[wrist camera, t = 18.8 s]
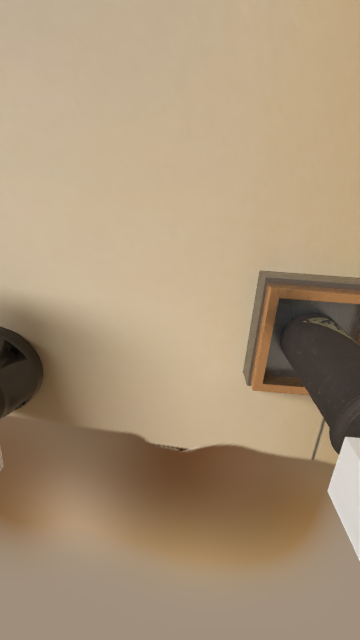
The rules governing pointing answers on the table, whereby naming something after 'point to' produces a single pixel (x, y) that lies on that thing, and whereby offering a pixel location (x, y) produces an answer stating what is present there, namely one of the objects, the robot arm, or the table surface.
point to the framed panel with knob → (284, 306)
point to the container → (327, 371)
